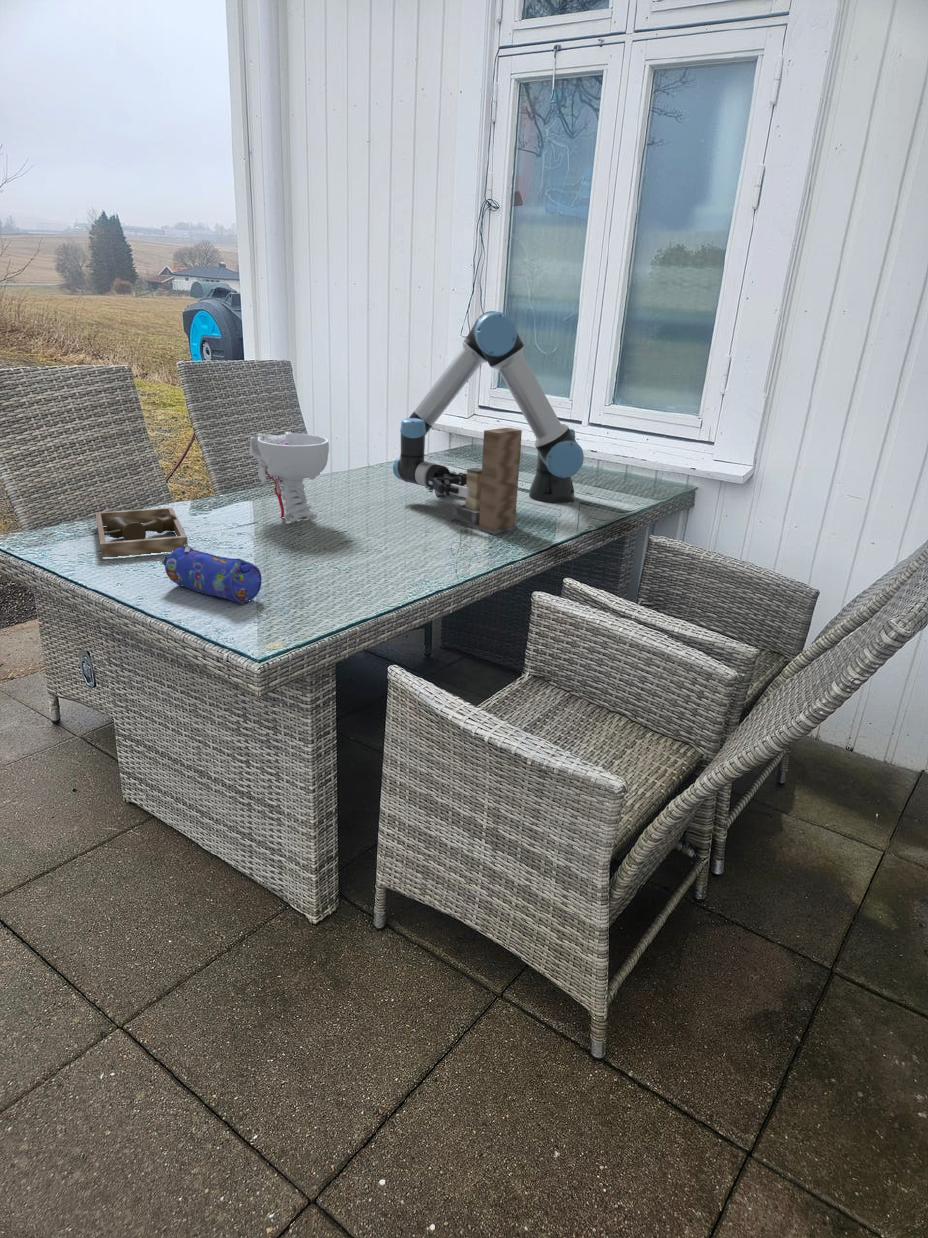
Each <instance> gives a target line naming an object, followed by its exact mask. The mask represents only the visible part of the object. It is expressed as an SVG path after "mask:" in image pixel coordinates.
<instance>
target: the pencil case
mask: <svg viewBox="0 0 928 1238" xmlns="http://www.w3.org/2000/svg"><path fill="white" fill-rule="evenodd" d="M163 556H164V557H163V559H162V561H161V564H163V565H164V569H165V573H166V576H167V577H168V578H169V580H170V581H172V583H175V584H176V585H178V586H180V585H183V586H185V587H184V588H186V589H189V588H190V590H191V591H194V590H196V591H195V592H197V591H199V592H198V593H200V592H203V593H202V594H204V593H205V594H204V595H207V594H208V596H211V595H212V597H215V596H217V597H216V598H221V599H224V600H229V601H233V602H235V603H239V604H241V603H243V604H246V603H245V602H247V603H249V602H250V601H249V600H251V601H252V600H254V599H255V598H256V597H257V596H258V594H260V590H261V588H262V580H263V579H262V578H263V577H262V573H261V571H260V569H259V568H258V566H257V565H255V564H253V563H252V562H249V561H247V560H244V559H241V558H229V557H225V556H218V555H214V554H212V553H208V552H204V551H200V550H197V549H194V548H193V547H192V546H190V545H189V544H188V545H187V544H184V546H181V547H179V548H177V549H176V550H175V551H173V552H172V553H171V554H168V556H167V555H163ZM183 586H182V587H183ZM248 601H249V602H248Z"/></svg>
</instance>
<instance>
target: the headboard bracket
mask: <svg viewBox="0 0 928 1238" xmlns="http://www.w3.org/2000/svg"><path fill="white" fill-rule="evenodd" d="M522 431H523V430H522V429H517V428H512V427H503V428H502V427H501V428H495V429H493V428H492V429H486V430H485V429H484V431H483V442H482V443H483V444H482V462H481V463H482V464H481V469H482V478H481V497H480V510H479V511H473V510H470V509H466V508H465V504H466V503H464V504H459V505H455V506H453V507H452V508H453V509H452V518H451V522H453V523H455V524H459V525H462V526H466V527H469V528H471V529H475V530H477V531H482V532H484V531H485V532H484V533H487V532H488V534H490V533H491V534H490V535H495V536H496V535H499V534H502V532H503V533H507V532H510V531H514V530H517V529H518V525H516V517H517V515H516V514H517V501H518V500H517V499H518V487H519V476H520V474H519V473H520V462H521V461H520V460H521V447H522V436H523V435H522V433H523V432H522ZM498 533H499V534H498Z"/></svg>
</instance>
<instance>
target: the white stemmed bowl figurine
mask: <svg viewBox="0 0 928 1238" xmlns="http://www.w3.org/2000/svg"><path fill="white" fill-rule="evenodd" d="M249 439H250V447H249V452H248V453H249V457H252V456H253V457H254V458H255V459H256V460H257V464H258V471H257V473H258V474H257V475H258V479H259V480H260V482H261V484H262V485H265V483H267V480H268V478H267V476H268V477H269V479H271V480H272V481H274V485H275V486H274V493H275V495H276V497H277V500H278V503H279V504H278V505H279V506H280V511H281V514H280V518H281V517H284V518H283V519H284V520H285V519H287V520H285V523H286V522H290V521H291V522H294V523H295V521H298V520H300V519H302V520H303V519H304V518H302V517H306V518H305V519H307V518H308V517H309V519H312V520H313V521H315V520H316V519H317V513H316V512H315V511H312V512H310V509H312V507H313V506H312V505H310V504H307V503H308V500H307V498H306V493H305V490H304V489H305V487H306V486H305V484H303V481H304V479H310V480H312V481H314V480H315V479H316V478H317V477H318V475H320V474H321V473H322V472H323V471H324V470H325V469H326V467H327V464H328V461H329V452H330V445H329V444H330V443H329V442H330V441H329V439H328V438H326V437H324V436H320V435H316V434H306V433H292V431H285V432H284V434H283V435H282V434H281V435H275V434H272V433H269V434H265V433H263V434H262V433H257V436H256V437H255V436H251V437H250V438H249ZM266 475H267V476H266ZM272 476H273V477H272ZM281 485H282V486H281ZM280 486H281V487H280ZM282 492H283V495H282ZM283 501H285V502H284V503H283ZM285 507H286V508H285ZM285 512H286V513H285ZM291 517H292V518H291ZM298 522H299V521H298Z"/></svg>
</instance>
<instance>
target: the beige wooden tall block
mask: <svg viewBox="0 0 928 1238" xmlns="http://www.w3.org/2000/svg"><path fill="white" fill-rule="evenodd" d="M466 474H467V482H466V485H465V487H467V488H469V498H465V503H464V504H465V508H466V509H470V510H473V511H479V510H480V497H481V478H482V467H481V468H480V467H470V468H467V469H466Z"/></svg>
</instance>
